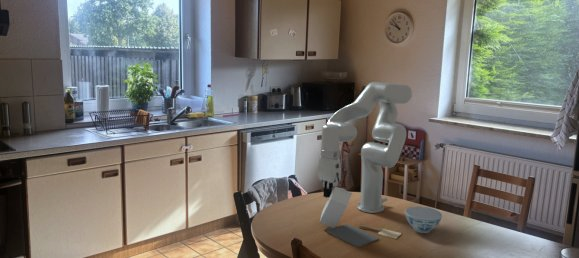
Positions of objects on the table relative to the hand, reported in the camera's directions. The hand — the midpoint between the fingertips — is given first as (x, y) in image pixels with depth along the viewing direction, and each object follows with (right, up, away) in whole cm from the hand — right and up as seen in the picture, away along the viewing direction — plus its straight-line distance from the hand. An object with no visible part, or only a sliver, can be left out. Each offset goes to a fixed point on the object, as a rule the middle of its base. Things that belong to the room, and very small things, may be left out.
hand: (327, 196), depth 208 cm
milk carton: (+1, -10, +2) cm, 11 cm away
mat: (+10, -15, -7) cm, 19 cm away
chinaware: (+40, -14, 0) cm, 42 cm away
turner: (+21, -14, -3) cm, 26 cm away
